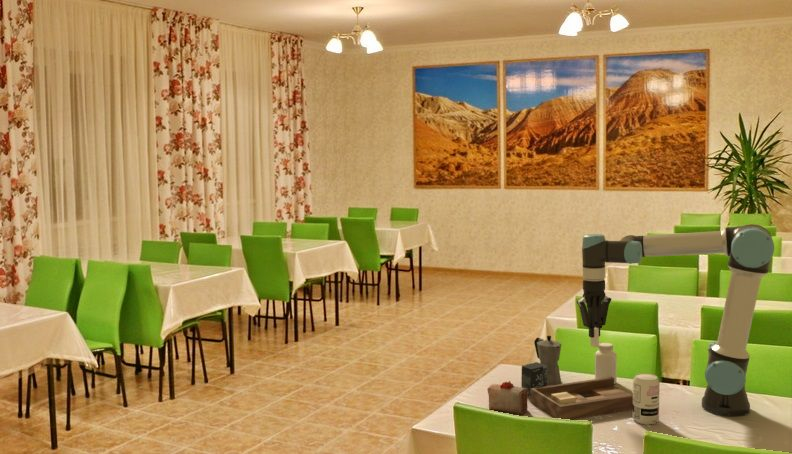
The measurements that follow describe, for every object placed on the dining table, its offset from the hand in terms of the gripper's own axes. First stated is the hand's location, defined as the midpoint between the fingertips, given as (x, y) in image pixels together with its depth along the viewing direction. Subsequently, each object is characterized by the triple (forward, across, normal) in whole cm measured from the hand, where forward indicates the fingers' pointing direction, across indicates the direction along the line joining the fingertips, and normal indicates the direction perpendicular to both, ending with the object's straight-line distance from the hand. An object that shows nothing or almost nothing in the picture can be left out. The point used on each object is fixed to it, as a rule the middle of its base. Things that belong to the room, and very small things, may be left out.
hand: (594, 346), depth 256 cm
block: (+19, +14, +2) cm, 24 cm away
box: (+21, +13, -20) cm, 32 cm away
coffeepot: (+21, 0, -30) cm, 37 cm away
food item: (+21, +30, -9) cm, 38 cm away
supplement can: (+22, -6, +19) cm, 29 cm away
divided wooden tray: (+21, +2, -2) cm, 21 cm away
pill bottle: (+21, -18, -19) cm, 34 cm away
